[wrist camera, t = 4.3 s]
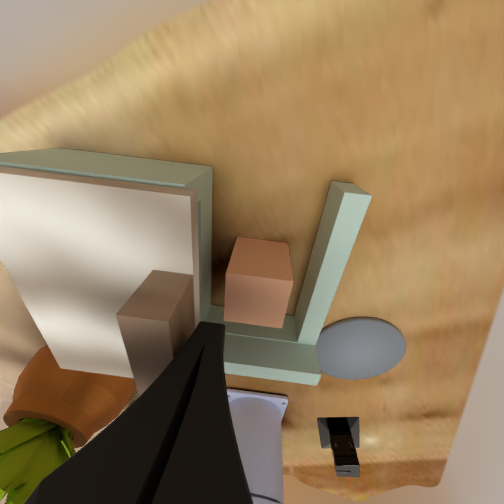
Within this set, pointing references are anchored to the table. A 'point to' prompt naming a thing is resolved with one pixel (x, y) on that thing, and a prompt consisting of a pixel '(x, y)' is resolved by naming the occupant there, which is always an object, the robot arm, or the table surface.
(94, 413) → the decorative plant
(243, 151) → the table surface
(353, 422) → the black small block
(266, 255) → the block
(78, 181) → the lid
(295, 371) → the sage green u-shaped tray
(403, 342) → the mat
